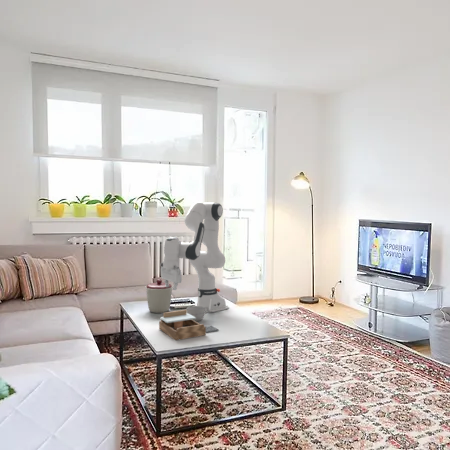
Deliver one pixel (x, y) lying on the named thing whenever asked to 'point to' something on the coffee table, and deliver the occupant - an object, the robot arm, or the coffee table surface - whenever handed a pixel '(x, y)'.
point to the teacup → (197, 312)
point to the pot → (178, 325)
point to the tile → (211, 329)
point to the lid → (176, 316)
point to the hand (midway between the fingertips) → (170, 288)
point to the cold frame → (183, 329)
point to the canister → (158, 296)
